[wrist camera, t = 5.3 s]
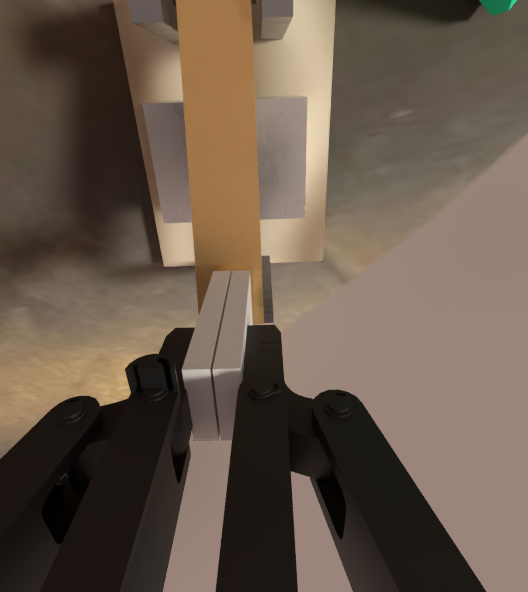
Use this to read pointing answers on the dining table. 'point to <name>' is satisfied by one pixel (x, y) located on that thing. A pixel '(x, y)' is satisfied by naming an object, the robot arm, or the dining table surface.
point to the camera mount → (497, 5)
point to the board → (268, 82)
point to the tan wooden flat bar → (221, 140)
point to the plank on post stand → (269, 123)
